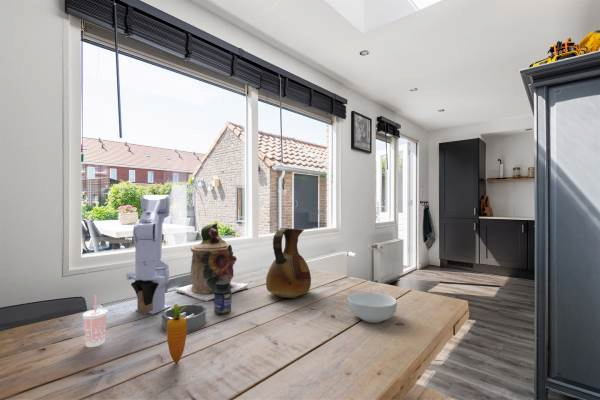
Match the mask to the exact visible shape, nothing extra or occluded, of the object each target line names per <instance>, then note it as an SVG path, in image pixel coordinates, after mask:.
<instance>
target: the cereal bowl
mask: <svg viewBox="0 0 600 400" xmlns="http://www.w3.org/2000/svg"><path fill="white" fill-rule="evenodd" d="M397 303H398V302H397V299H396V298H395V297H393V296H391V295H388V294H384V293H379V292H367V291H366V292H364V291H363V292H356V293H352V294H350V295H348V296H347V306H348V309H349V311H350V312H351V313H352V314H353V315H354V316H355V317H357V318H360V319H361V320H362V321H364V322H367V323H373V324H374V323H375V324H376V323H382V322H383V321H385V320H388V319H390V318H392V317H393V316H394V315H395V313H396V311H397V309H398V308H397V307H398V304H397Z"/></svg>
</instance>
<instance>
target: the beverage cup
mask: <svg viewBox="0 0 600 400" xmlns="http://www.w3.org/2000/svg"><path fill="white" fill-rule="evenodd" d="M97 297H98V296H97V295H96V294H94V309H91V310H88V311H85V312H84V313H83V314H82V319H83V326H84V341H85V342H84V343H85V347H87V348H94V347H98V346H102V345H103V344H105V342H106V330H107V318H108V317H107V316H108V313H109V310H108V309H106V308H98V307H97V305H98V303H97V302H98V299H97Z"/></svg>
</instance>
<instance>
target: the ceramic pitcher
mask: <svg viewBox="0 0 600 400" xmlns="http://www.w3.org/2000/svg"><path fill="white" fill-rule="evenodd" d="M304 231H305V229H300V228H299V229H298V228H290V227H288V228H287V227H280V228H279V229H278V230H277V231H276V232H275V233H274V235H273V237H272V238H273V239H272V249H273V254H274V257H275V259H274V260H273V262H272V264H271V265H270V267H269V269H268V272H267V274H266V280H265V286H266V287H265V288H266V290H267V291H268V293H271V294H274V295H276V296H277V297H282V298H290V299H291V298H293V299H294V298H298V296H301V295H305V294H306V293H307V294H308V292H309V291H310V290H311V284H312V275H311V272H310V268H309V266H308V263H307V262H306V261H307V260H305V258H304V257H303V256H302V255H301V254H300V252H299V249H298V242H299V237H300V235H301V234H302V233H303V232H304ZM283 237H284V249H283Z"/></svg>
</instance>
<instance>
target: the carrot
mask: <svg viewBox="0 0 600 400" xmlns="http://www.w3.org/2000/svg"><path fill="white" fill-rule="evenodd" d="M172 307H173V308H172ZM172 307H170V308H171V310H172V314H173V316H174V318H172V319H170V320H168V321H167V330H166V339H167V340H166V341H167V347H168V351H169V354H170V357H171V359H172V361H173V363H175V364H178V363H179V362H180V360H181V358H182V356H183V354H184V351H185V346H186V341H187V331H186V330H187V322H186V319H185V318H183V317H180V315H181V312H182V311H183V310H184V309H185V308H186V307H185V306H184V307H183V308H181V310H180V311H179V308H180V305H178V304H177V303H175V304H174V305H173V306H172ZM177 314H178V315H177Z"/></svg>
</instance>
